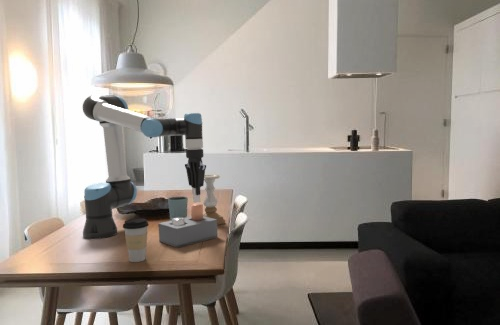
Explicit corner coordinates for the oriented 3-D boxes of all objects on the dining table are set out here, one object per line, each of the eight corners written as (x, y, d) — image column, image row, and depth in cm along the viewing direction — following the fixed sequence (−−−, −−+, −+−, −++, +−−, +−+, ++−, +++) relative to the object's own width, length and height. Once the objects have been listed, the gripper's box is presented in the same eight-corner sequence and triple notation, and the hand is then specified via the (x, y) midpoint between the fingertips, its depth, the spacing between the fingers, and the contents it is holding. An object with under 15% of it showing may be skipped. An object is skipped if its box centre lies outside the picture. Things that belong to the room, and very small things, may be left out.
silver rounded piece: (177, 237, 179) (176, 221, 178) (170, 235, 183) (169, 219, 182) (187, 234, 183) (186, 218, 182) (180, 232, 186) (179, 216, 186)
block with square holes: (177, 247, 174) (176, 228, 173) (159, 241, 184) (158, 223, 184) (217, 237, 188) (217, 219, 188) (198, 231, 199) (198, 214, 198)
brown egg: (196, 222, 185) (195, 206, 185) (189, 220, 189) (188, 205, 188) (205, 220, 189) (205, 204, 188) (198, 218, 193) (198, 203, 192)
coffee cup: (127, 265, 155) (125, 224, 153) (122, 258, 163) (120, 219, 161) (153, 260, 159) (151, 221, 157) (147, 254, 167) (145, 216, 166)
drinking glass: (165, 222, 218) (164, 199, 217) (173, 218, 228) (172, 196, 227) (184, 223, 216) (183, 200, 215) (191, 218, 226) (190, 196, 224)
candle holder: (225, 223, 213) (224, 176, 211) (206, 226, 208) (204, 178, 205) (216, 219, 222) (214, 174, 220) (196, 222, 217) (194, 175, 214)
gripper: (210, 148, 184) (212, 202, 186) (192, 147, 193) (195, 199, 195) (196, 149, 179) (198, 205, 181) (178, 148, 188) (181, 201, 190)
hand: (196, 202), depth 188 cm, fingers closed
